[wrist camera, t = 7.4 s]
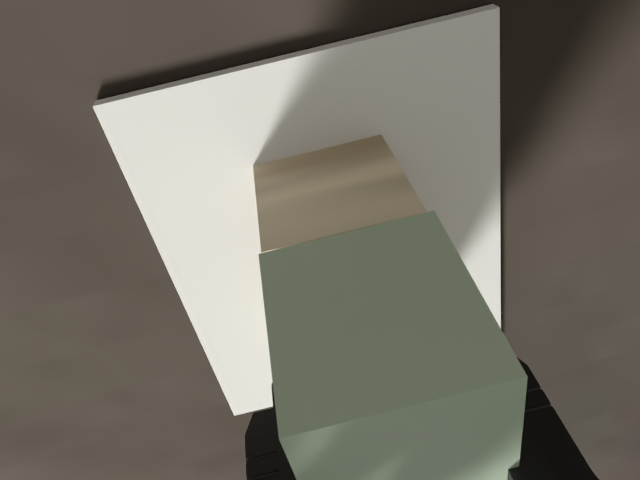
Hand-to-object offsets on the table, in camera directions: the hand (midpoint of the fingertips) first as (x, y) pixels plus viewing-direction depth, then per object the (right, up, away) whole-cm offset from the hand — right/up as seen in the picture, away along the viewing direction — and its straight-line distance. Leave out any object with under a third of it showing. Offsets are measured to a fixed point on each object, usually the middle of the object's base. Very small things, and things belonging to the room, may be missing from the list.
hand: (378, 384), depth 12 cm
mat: (-1, +3, +5) cm, 6 cm away
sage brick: (0, +1, 0) cm, 1 cm away
